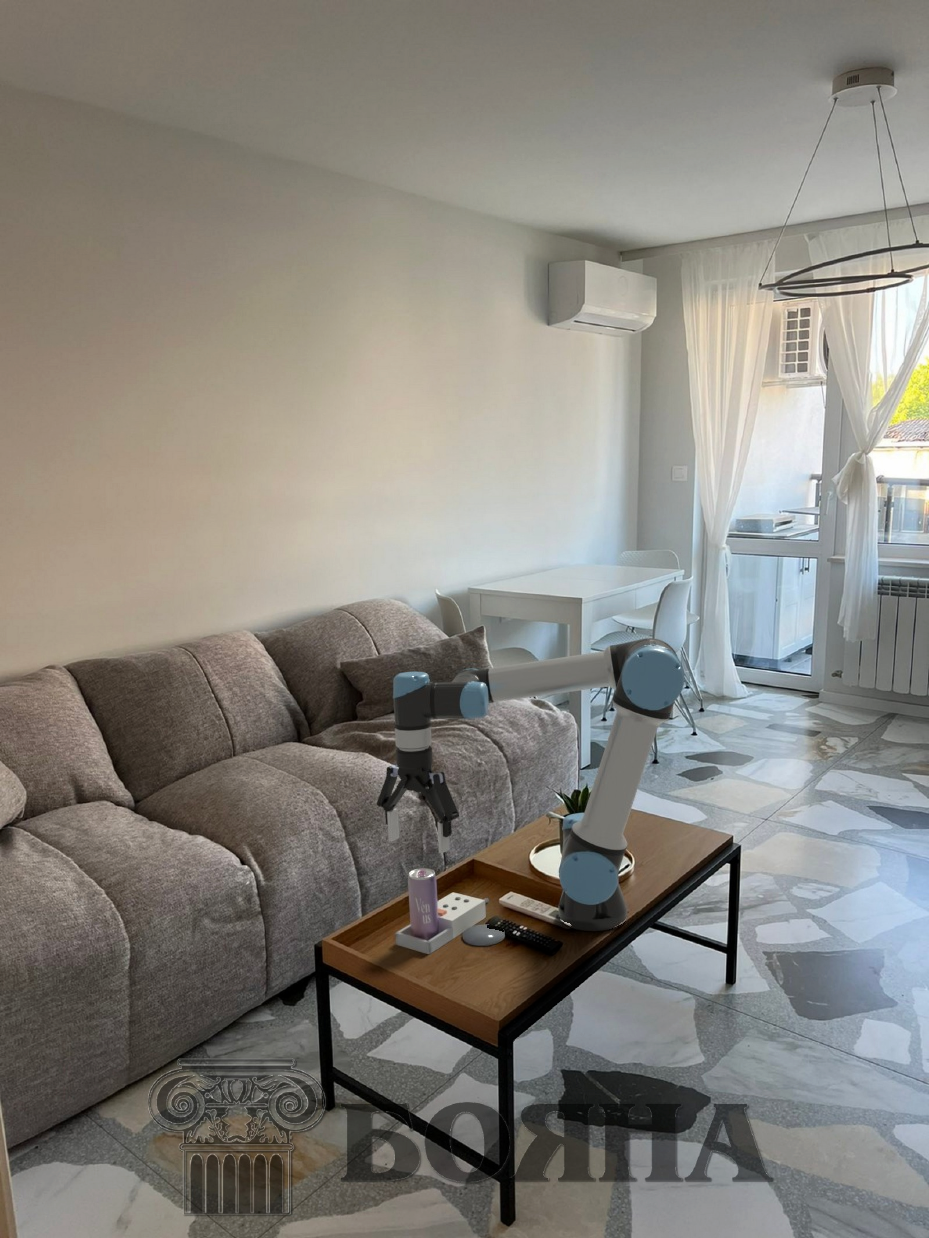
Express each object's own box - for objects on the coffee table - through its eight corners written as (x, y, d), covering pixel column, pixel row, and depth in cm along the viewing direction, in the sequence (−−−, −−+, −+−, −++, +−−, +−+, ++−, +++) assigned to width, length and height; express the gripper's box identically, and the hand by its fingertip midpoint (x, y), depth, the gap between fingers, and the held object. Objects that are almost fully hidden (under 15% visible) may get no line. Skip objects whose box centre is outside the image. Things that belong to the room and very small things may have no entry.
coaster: (512, 932, 202) (512, 930, 202) (488, 949, 195) (488, 946, 195) (478, 923, 207) (478, 921, 207) (454, 939, 200) (454, 937, 200)
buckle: (471, 898, 221) (470, 879, 221) (503, 905, 216) (502, 886, 215) (395, 944, 199) (394, 923, 199) (429, 954, 194) (427, 933, 194)
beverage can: (439, 933, 203) (435, 867, 202) (439, 946, 197) (435, 877, 196) (411, 935, 203) (407, 868, 201) (411, 948, 197) (407, 879, 196)
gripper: (473, 749, 191) (477, 850, 194) (380, 736, 206) (385, 830, 208) (451, 758, 185) (455, 862, 188) (357, 744, 200) (362, 840, 202)
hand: (418, 845), depth 198 cm, fingers open, 13 cm apart
